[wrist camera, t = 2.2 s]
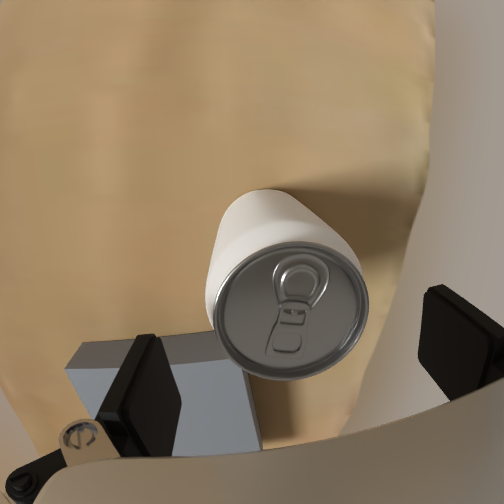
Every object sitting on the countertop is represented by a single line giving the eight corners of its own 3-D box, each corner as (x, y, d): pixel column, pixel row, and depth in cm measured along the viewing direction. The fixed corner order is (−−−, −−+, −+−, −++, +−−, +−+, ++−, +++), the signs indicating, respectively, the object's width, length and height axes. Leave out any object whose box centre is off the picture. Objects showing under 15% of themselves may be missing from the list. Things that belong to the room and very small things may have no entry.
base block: (82, 342, 24) (64, 368, 21) (238, 327, 24) (239, 357, 21) (135, 444, 29) (127, 471, 25) (261, 438, 29) (264, 468, 25)
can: (318, 195, 22) (400, 243, 10) (301, 282, 24) (351, 390, 12) (224, 181, 21) (210, 215, 10) (213, 271, 23) (194, 381, 12)
